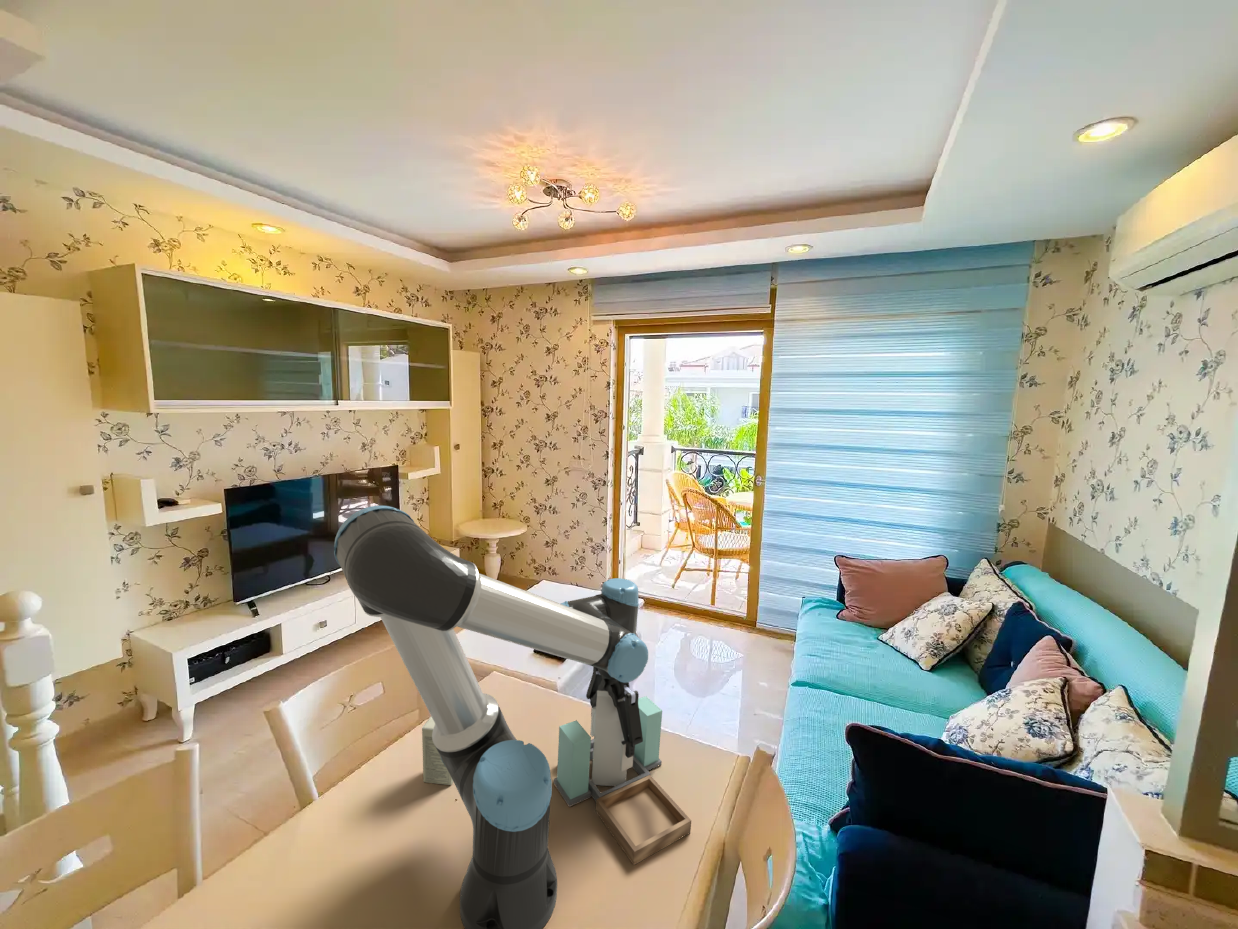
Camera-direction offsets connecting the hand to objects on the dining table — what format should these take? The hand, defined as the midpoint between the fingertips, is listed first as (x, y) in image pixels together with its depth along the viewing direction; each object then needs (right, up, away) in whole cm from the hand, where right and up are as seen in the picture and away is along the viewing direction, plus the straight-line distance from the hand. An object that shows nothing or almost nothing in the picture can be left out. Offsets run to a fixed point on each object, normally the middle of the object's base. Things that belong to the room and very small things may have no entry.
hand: (610, 750), depth 107 cm
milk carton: (0, -6, +1) cm, 6 cm away
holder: (0, -5, +1) cm, 6 cm away
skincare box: (-35, -4, -3) cm, 36 cm away
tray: (+6, -7, -11) cm, 15 cm away
